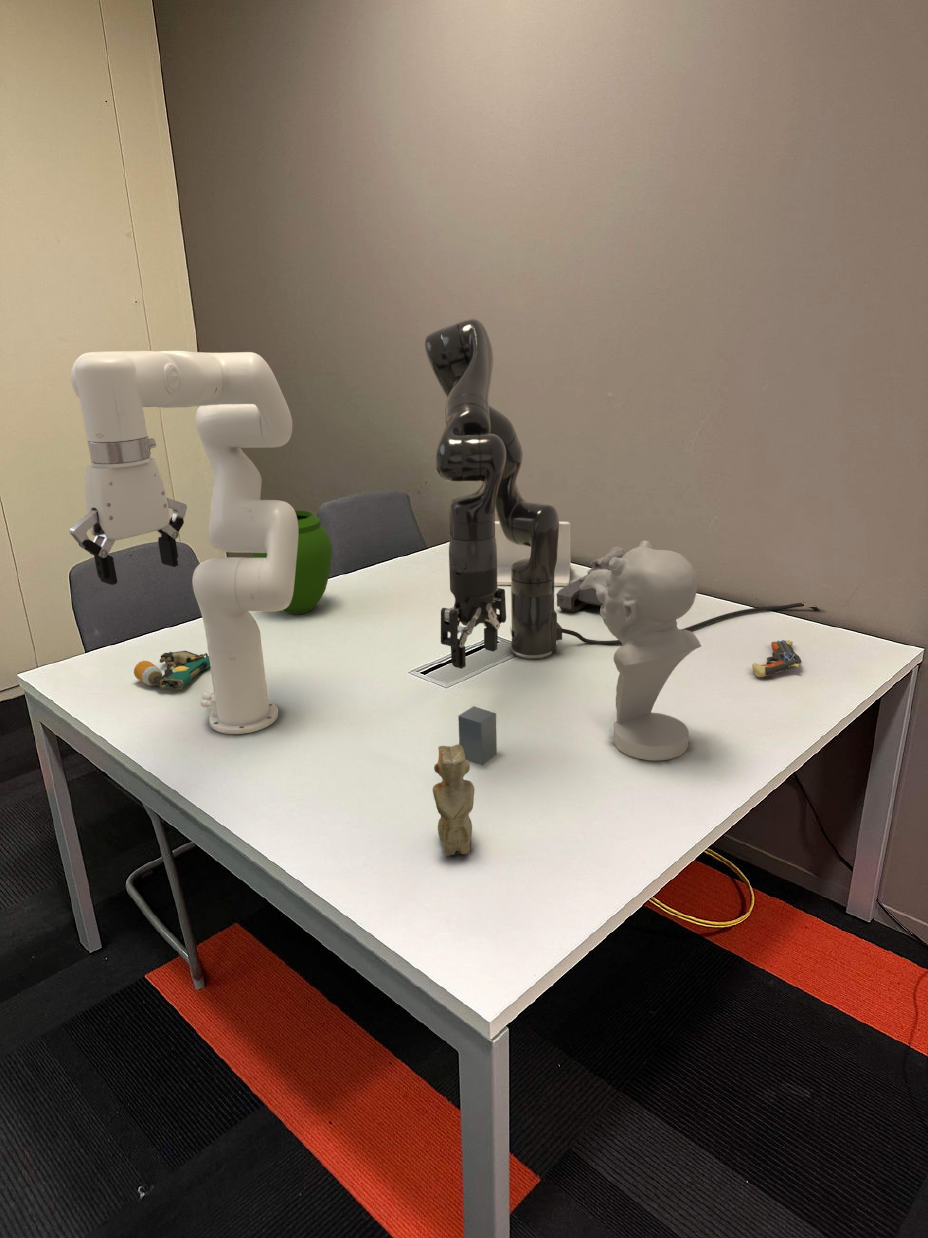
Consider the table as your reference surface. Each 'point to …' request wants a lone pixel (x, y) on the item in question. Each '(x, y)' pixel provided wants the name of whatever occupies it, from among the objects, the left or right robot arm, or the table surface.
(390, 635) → the table surface
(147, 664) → the spray gun
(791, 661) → the toy gun
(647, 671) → the bust sculpture
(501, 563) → the tablet stand
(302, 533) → the vase
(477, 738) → the brick
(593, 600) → the toy
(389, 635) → the table surface
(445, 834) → the sculpture
